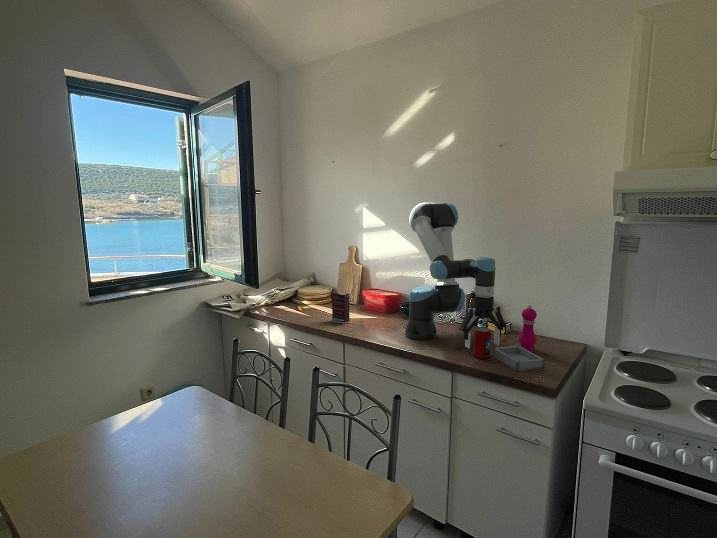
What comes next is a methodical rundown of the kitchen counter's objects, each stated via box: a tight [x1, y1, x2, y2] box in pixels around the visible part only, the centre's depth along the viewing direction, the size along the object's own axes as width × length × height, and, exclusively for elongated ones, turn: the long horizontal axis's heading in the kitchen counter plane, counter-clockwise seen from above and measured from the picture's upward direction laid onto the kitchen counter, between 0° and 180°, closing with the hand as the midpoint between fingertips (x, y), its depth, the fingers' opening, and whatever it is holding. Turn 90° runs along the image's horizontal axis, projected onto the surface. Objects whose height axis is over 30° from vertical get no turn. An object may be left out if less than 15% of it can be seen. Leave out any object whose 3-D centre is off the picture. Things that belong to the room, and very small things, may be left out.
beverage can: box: [473, 326, 492, 360], centre depth 169 cm, size 7×7×12 cm
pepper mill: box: [517, 304, 538, 353], centre depth 176 cm, size 7×7×20 cm
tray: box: [492, 345, 546, 372], centre depth 164 cm, size 16×12×4 cm
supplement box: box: [331, 291, 351, 325], centre depth 218 cm, size 9×5×16 cm, turn 56°
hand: (482, 345), depth 169 cm, fingers open, 13 cm apart
